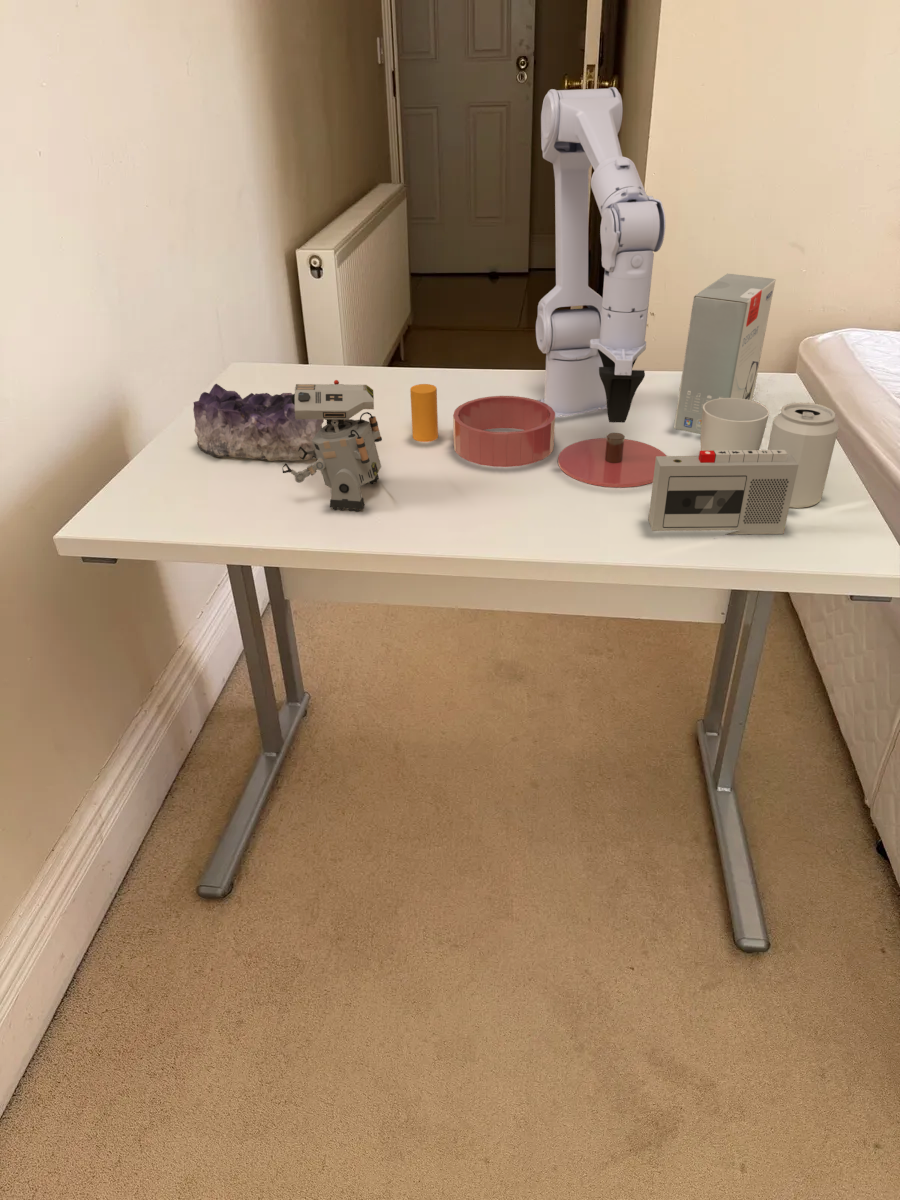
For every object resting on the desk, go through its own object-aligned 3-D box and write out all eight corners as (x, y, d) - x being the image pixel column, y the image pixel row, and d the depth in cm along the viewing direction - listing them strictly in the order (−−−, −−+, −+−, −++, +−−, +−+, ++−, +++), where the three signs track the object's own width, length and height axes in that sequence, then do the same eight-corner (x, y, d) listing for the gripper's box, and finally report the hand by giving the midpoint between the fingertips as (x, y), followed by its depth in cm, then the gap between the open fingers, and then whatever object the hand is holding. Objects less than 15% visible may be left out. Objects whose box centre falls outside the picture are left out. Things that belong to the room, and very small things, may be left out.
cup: (759, 473, 117) (773, 402, 111) (750, 498, 110) (764, 425, 105) (699, 463, 119) (709, 394, 114) (686, 488, 113) (697, 416, 108)
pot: (525, 423, 133) (526, 389, 130) (571, 458, 122) (573, 422, 119) (439, 439, 128) (438, 405, 125) (479, 478, 117) (478, 441, 114)
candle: (432, 433, 130) (430, 382, 126) (442, 442, 128) (440, 390, 123) (409, 437, 129) (406, 386, 125) (418, 447, 126) (415, 394, 122)
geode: (182, 467, 122) (169, 396, 118) (211, 444, 133) (200, 379, 128) (321, 465, 120) (313, 393, 116) (339, 442, 130) (333, 375, 126)
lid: (629, 437, 127) (632, 408, 125) (691, 478, 116) (696, 446, 113) (538, 456, 123) (539, 425, 120) (593, 500, 111) (596, 467, 108)
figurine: (308, 477, 118) (295, 371, 110) (389, 482, 117) (382, 374, 108) (287, 508, 111) (271, 396, 103) (373, 513, 109) (364, 400, 101)
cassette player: (651, 534, 103) (661, 458, 98) (647, 524, 106) (656, 448, 100) (783, 533, 103) (800, 456, 97) (776, 523, 105) (793, 446, 99)
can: (819, 490, 112) (841, 402, 105) (820, 516, 106) (843, 424, 99) (759, 483, 114) (776, 396, 107) (757, 508, 108) (774, 418, 102)
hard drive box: (723, 442, 125) (746, 302, 114) (672, 432, 129) (690, 295, 118) (752, 407, 136) (776, 276, 125) (705, 399, 140) (724, 271, 129)
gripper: (592, 291, 114) (585, 390, 121) (593, 322, 102) (585, 430, 109) (646, 291, 113) (636, 391, 120) (654, 323, 101) (642, 432, 108)
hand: (615, 410), depth 115 cm, fingers open, 7 cm apart
